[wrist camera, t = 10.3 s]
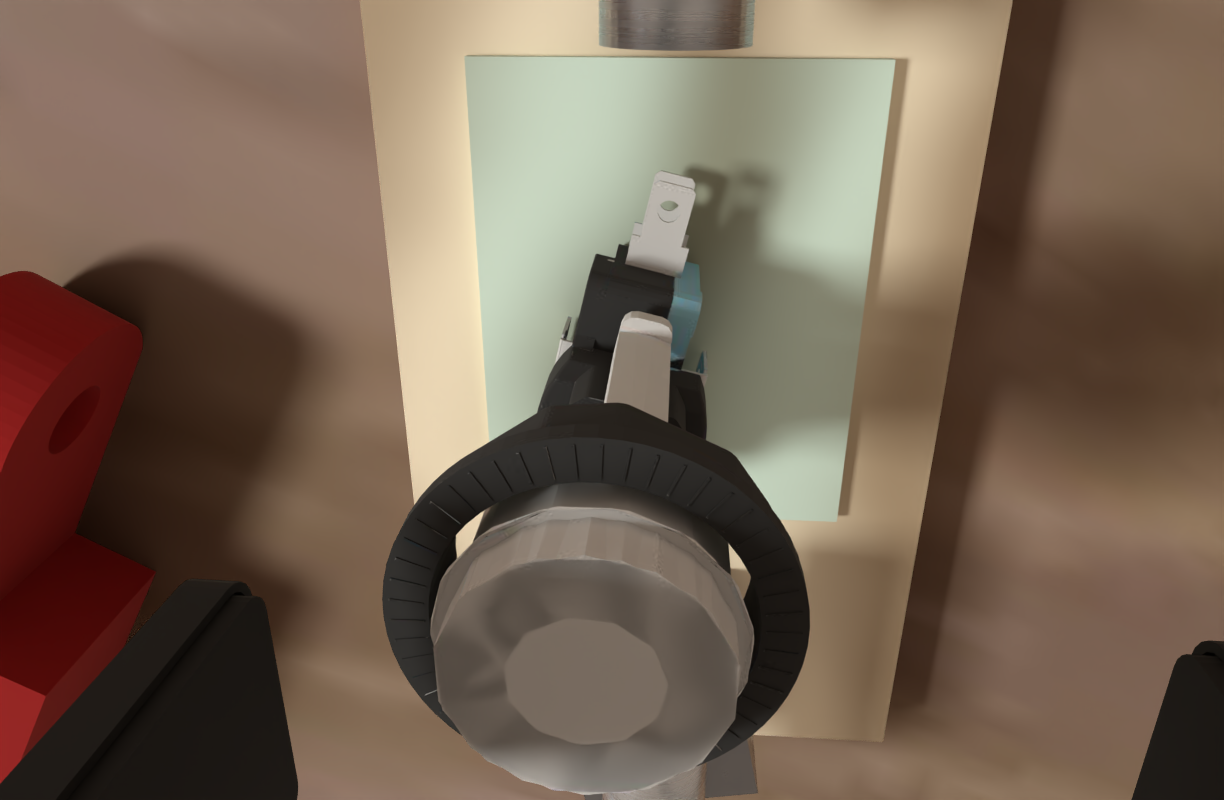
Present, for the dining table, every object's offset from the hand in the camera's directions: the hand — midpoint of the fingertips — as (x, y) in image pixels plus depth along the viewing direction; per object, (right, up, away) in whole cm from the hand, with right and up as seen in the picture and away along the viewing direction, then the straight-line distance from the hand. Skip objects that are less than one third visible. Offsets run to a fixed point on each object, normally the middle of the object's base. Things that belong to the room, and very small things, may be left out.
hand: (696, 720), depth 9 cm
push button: (0, +5, +10) cm, 11 cm away
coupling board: (0, +6, +11) cm, 13 cm away
